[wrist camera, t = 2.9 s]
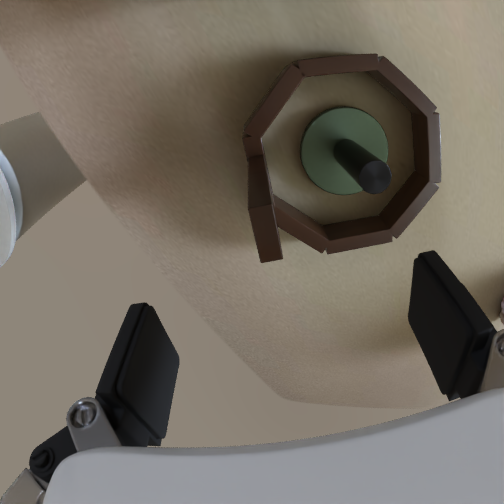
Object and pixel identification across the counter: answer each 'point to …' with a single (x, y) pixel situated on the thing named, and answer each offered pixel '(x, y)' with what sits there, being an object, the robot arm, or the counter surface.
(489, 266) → the counter surface
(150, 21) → the counter surface
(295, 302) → the counter surface
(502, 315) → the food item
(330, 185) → the post
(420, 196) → the ring
